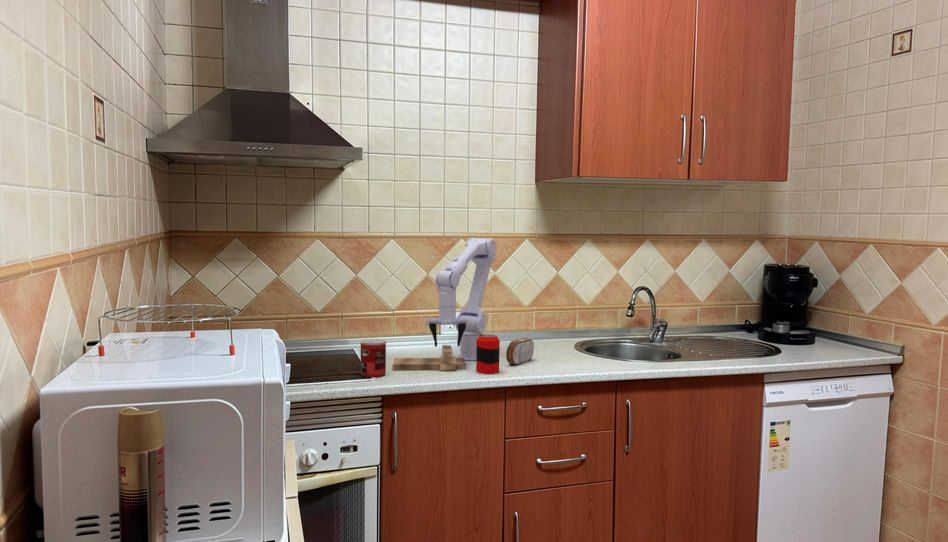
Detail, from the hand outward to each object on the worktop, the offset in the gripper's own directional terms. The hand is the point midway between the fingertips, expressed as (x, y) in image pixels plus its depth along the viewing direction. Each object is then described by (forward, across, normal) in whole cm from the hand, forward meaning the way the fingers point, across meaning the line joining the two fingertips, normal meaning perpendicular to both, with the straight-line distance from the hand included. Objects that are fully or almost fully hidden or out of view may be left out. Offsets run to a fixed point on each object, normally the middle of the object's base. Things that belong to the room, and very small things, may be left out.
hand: (447, 345), depth 218 cm
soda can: (+7, +13, -8) cm, 17 cm away
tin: (+8, +26, +5) cm, 27 cm away
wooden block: (+7, 0, -1) cm, 7 cm away
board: (+7, -6, 0) cm, 9 cm away
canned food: (+7, -24, -11) cm, 27 cm away
